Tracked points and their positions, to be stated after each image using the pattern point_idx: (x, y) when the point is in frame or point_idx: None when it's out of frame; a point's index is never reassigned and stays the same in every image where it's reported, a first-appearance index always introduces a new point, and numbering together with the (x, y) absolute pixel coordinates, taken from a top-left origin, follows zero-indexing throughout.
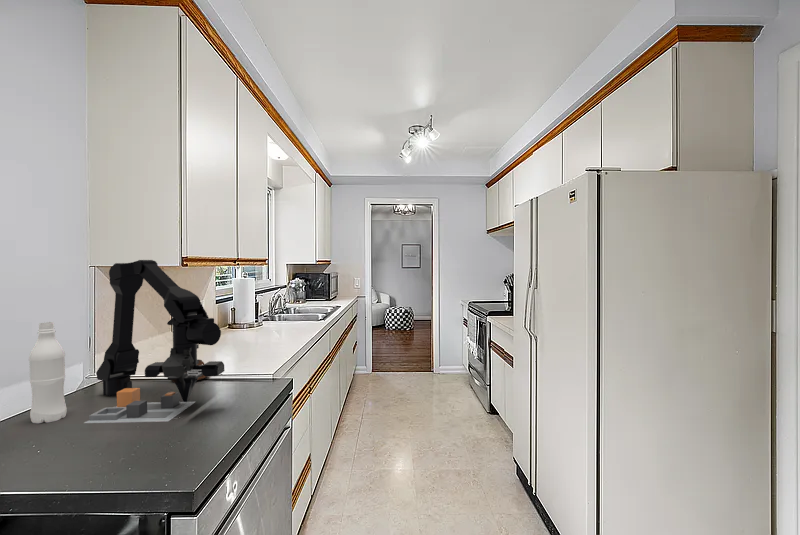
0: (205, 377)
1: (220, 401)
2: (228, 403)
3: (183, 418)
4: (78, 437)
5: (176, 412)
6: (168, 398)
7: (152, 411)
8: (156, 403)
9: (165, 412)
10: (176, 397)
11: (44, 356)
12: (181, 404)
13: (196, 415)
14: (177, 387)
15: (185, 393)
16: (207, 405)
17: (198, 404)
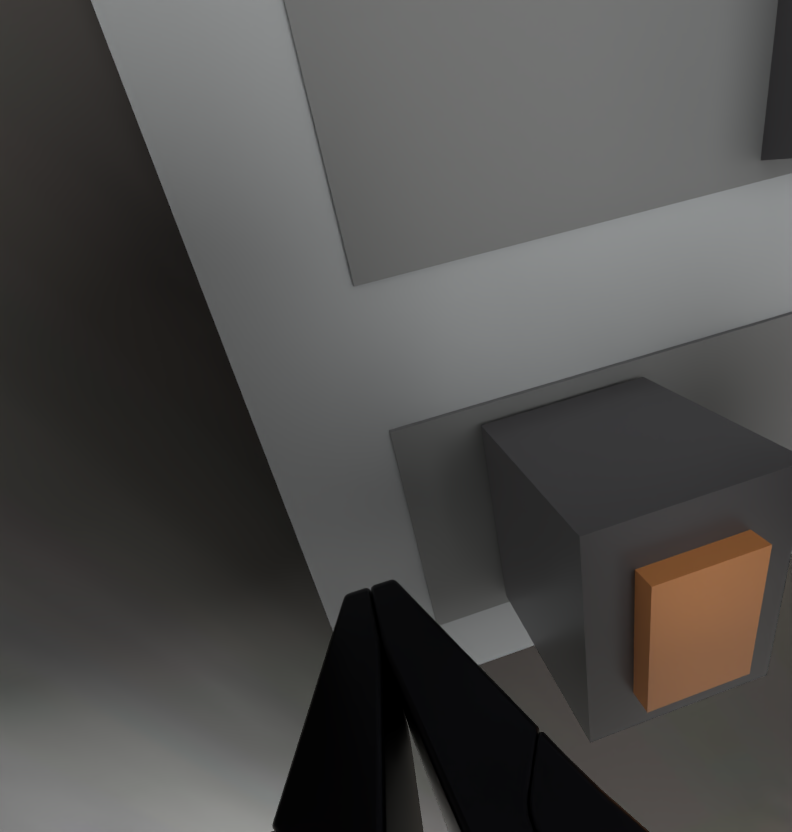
0: None
1: (229, 823)
2: (83, 824)
3: (168, 271)
4: None
5: (273, 255)
6: (633, 485)
7: (703, 236)
8: None
9: (464, 204)
10: (551, 611)
11: None
12: (459, 576)
13: (83, 431)
14: (616, 807)
15: (362, 713)
16: (267, 717)
17: None
